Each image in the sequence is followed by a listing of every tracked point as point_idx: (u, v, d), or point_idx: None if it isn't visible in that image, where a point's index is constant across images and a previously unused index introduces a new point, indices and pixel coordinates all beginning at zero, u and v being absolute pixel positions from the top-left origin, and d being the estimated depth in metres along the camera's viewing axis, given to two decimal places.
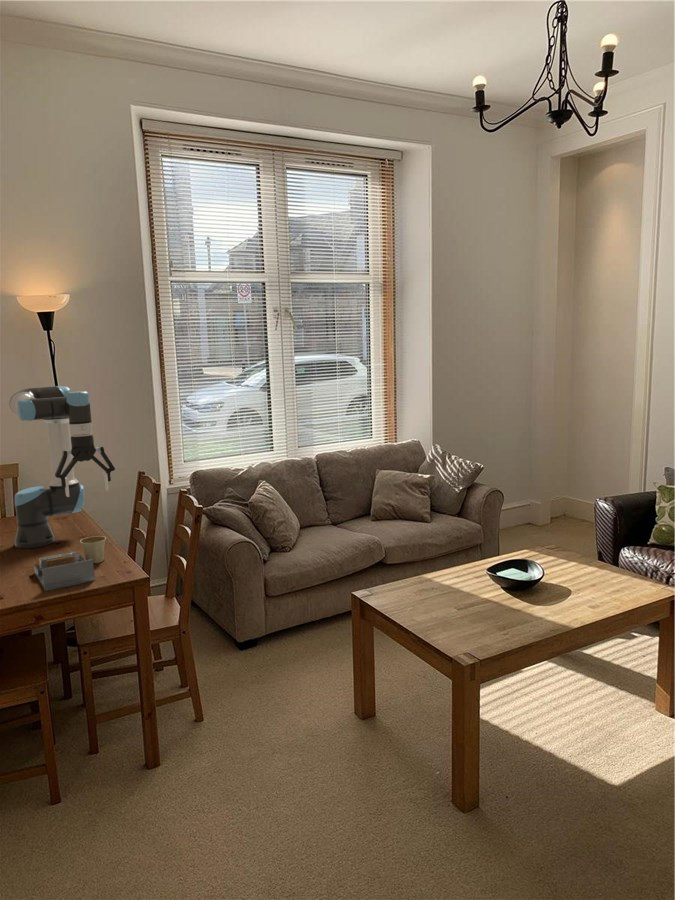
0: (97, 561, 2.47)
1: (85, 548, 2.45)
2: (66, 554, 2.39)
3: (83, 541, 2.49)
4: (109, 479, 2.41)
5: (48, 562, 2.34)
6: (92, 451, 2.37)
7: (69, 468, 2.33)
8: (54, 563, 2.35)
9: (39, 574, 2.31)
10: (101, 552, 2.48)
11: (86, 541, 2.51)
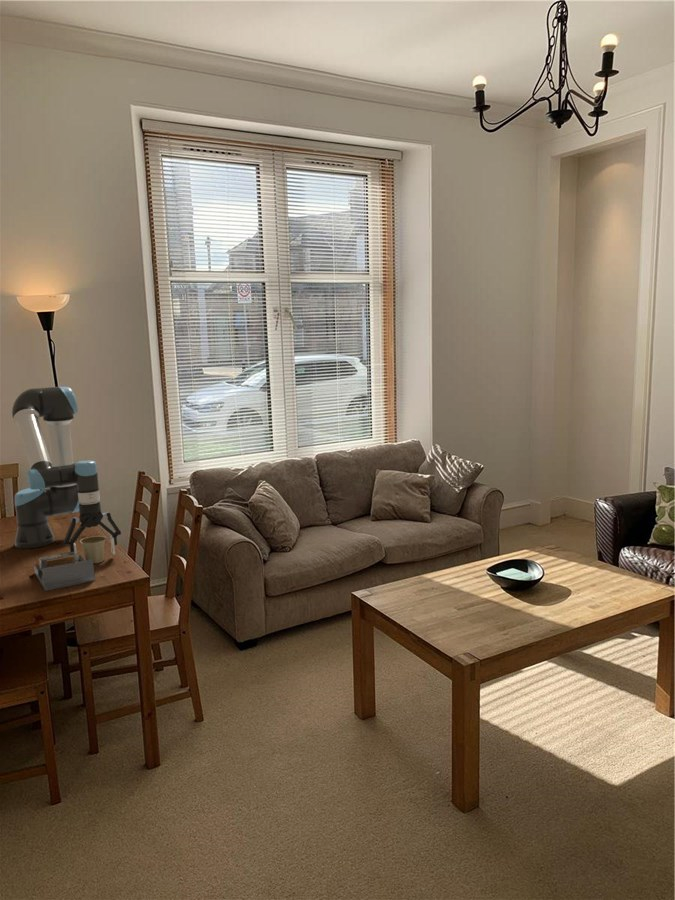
0: (97, 561, 2.47)
1: (85, 548, 2.45)
2: (66, 554, 2.39)
3: (83, 541, 2.49)
4: (115, 543, 2.52)
5: (48, 562, 2.34)
6: (99, 517, 2.47)
7: (77, 534, 2.44)
8: (54, 563, 2.35)
9: (39, 574, 2.31)
10: (101, 552, 2.48)
11: (86, 541, 2.51)
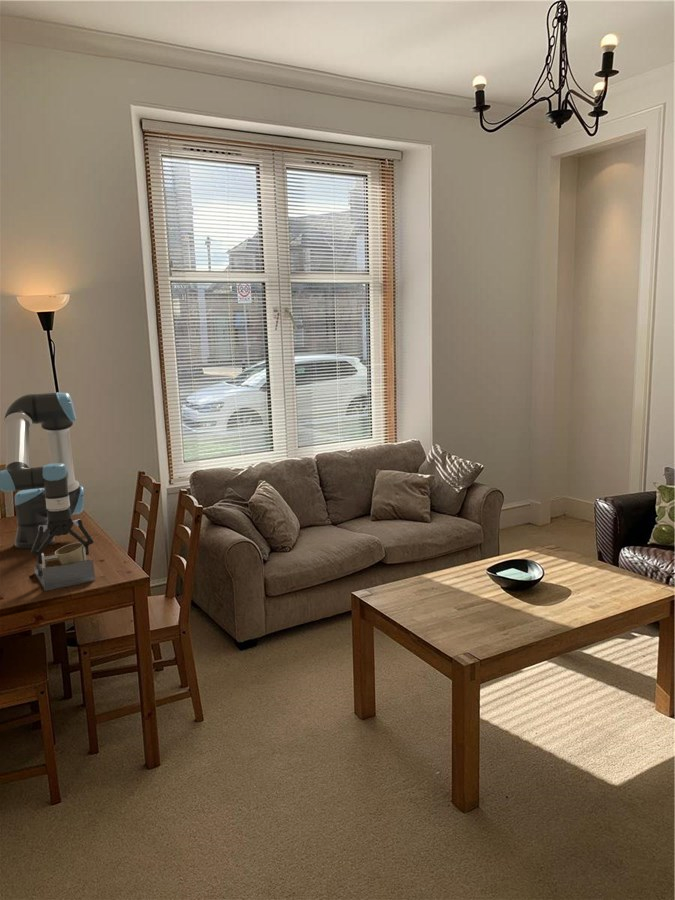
0: None
1: (61, 559, 2.27)
2: None
3: (59, 551, 2.31)
4: (87, 553, 2.33)
5: (48, 562, 2.34)
6: (69, 525, 2.28)
7: (45, 544, 2.25)
8: (54, 563, 2.35)
9: (39, 574, 2.31)
10: (80, 560, 2.29)
11: (63, 550, 2.33)
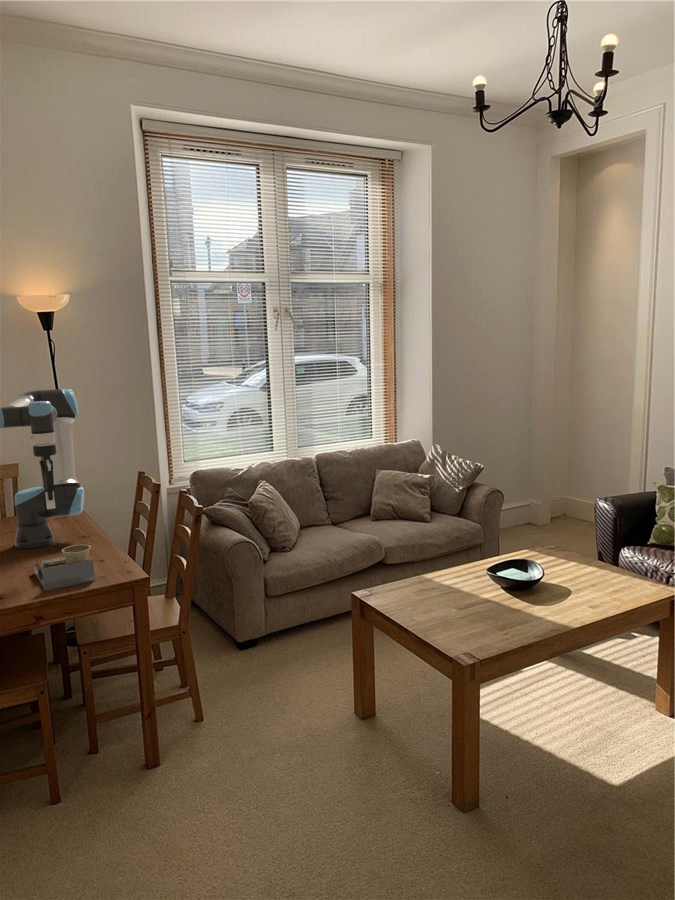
0: None
1: (67, 558, 2.28)
2: None
3: (66, 550, 2.33)
4: (48, 498, 2.39)
5: (50, 565, 2.30)
6: (43, 462, 2.35)
7: (43, 479, 2.40)
8: None
9: (39, 574, 2.31)
10: None
11: (70, 550, 2.34)
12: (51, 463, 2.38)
